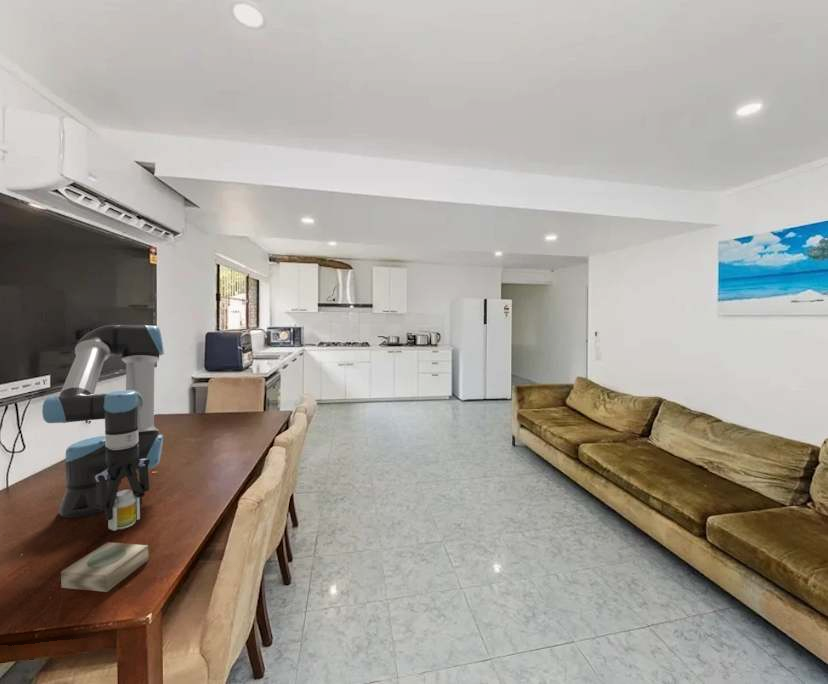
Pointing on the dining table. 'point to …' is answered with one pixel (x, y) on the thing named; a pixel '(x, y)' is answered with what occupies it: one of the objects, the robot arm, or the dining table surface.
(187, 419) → the dining table surface
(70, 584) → the pedestal
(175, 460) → the dining table surface
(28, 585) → the dining table surface
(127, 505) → the supplement bottle
